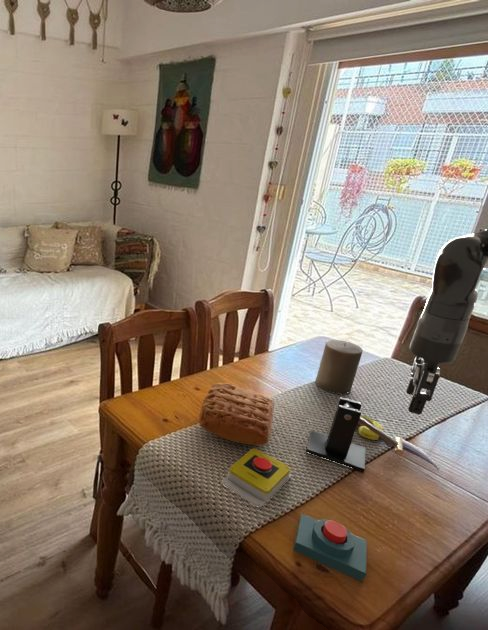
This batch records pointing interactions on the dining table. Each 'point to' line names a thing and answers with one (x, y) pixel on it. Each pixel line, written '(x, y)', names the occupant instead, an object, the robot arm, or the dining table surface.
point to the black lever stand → (340, 438)
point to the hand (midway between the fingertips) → (412, 403)
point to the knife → (406, 445)
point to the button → (334, 532)
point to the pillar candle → (338, 366)
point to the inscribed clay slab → (237, 414)
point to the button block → (331, 548)
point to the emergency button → (257, 477)
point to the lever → (381, 433)
